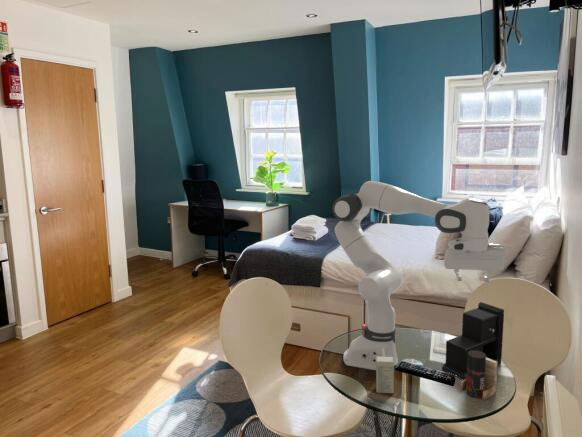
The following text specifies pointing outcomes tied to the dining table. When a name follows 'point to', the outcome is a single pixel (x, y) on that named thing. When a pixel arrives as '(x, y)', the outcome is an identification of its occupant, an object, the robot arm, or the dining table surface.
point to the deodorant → (475, 373)
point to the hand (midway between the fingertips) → (472, 281)
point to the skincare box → (384, 374)
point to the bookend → (476, 338)
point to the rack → (487, 379)
